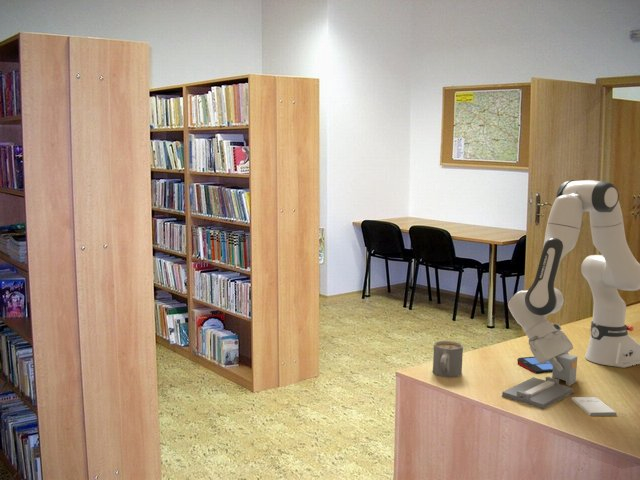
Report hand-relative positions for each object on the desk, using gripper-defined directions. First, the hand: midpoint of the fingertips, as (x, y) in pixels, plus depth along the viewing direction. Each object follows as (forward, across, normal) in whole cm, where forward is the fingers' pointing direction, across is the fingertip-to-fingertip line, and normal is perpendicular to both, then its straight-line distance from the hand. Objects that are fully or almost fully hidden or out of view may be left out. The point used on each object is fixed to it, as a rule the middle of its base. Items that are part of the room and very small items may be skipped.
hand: (566, 368), depth 229 cm
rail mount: (+3, -18, +4) cm, 19 cm away
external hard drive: (+15, -15, -7) cm, 23 cm away
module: (+3, 0, +4) cm, 5 cm away
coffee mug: (-19, -24, +26) cm, 41 cm away
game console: (-6, +9, +14) cm, 17 cm away
